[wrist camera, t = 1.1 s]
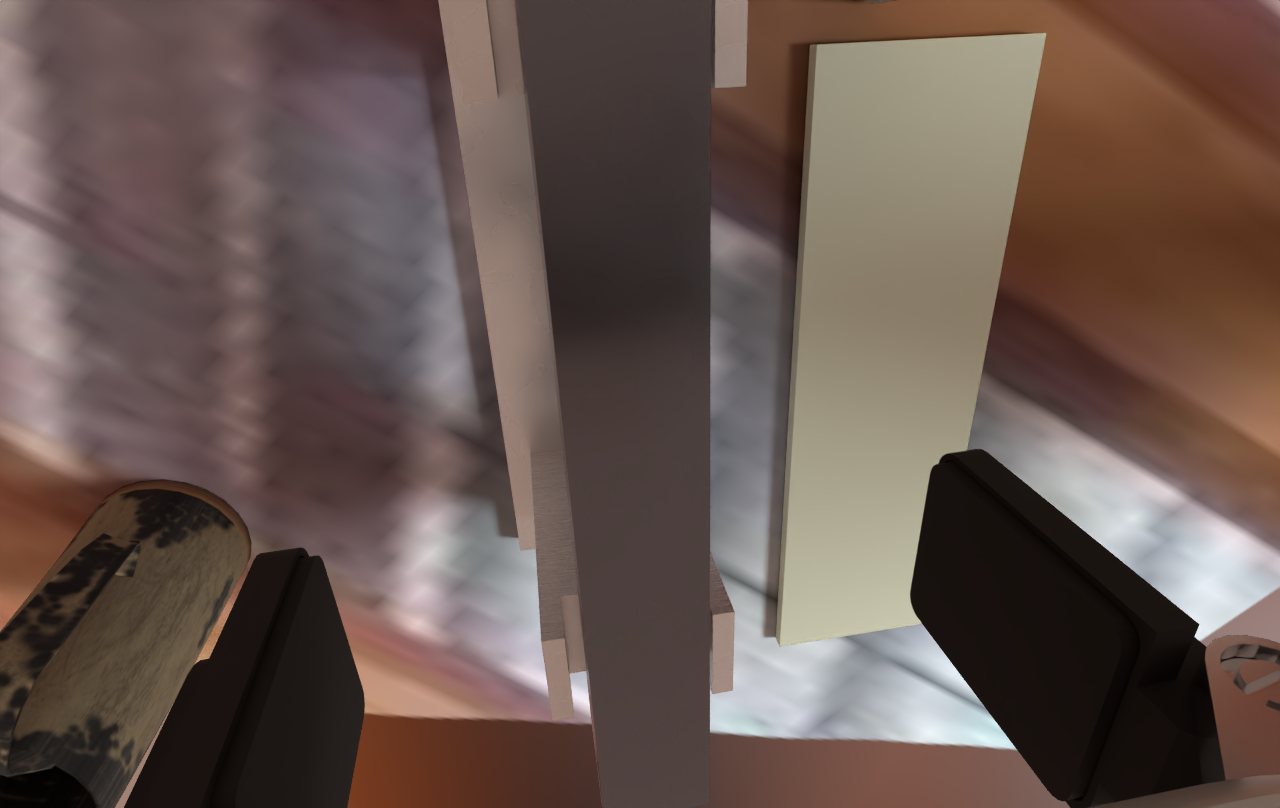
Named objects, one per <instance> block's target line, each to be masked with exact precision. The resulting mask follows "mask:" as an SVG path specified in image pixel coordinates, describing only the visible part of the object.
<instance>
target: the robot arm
mask: <svg viewBox="0 0 1280 808" xmlns="http://www.w3.org/2000/svg"><path fill="white" fill-rule="evenodd" d="M910 600H911V605H912V608H913V610H914V613H915V614H916V616H917V617H918V619H919V620H920V621H921V623H922V624H923V625H924V627H925V628H926V629H927V631H928V632H929V633H930V635H931V636H932V637H933V639H934V640H935V641H936V643H937V644H938V645H939V647H940V648H941V649H942V651H943V652H944V653H945V655H946V656H947V657H948V659H949V660H950V661H951V663H952V664H953V665H954V667H955V668H956V669H957V671H958V672H959V673H960V674H961V676H962V677H963V678H964V680H965V681H966V682H967V684H968V685H969V686H970V688H971V689H972V690H973V692H974V693H975V694H976V696H977V697H978V698H979V700H980V701H981V702H982V704H983V705H984V706H985V708H986V709H987V710H988V712H989V713H990V714H991V716H992V717H993V718H994V720H995V721H996V722H997V724H998V725H999V726H1000V728H1001V729H1002V730H1003V732H1004V733H1005V734H1006V736H1007V737H1008V738H1009V740H1010V741H1011V742H1012V743H1013V745H1014V746H1015V747H1016V749H1017V750H1018V751H1019V753H1020V754H1021V755H1022V757H1023V758H1024V759H1025V761H1026V762H1027V763H1028V765H1029V766H1030V767H1031V769H1032V770H1033V771H1034V773H1035V774H1036V775H1037V777H1038V778H1039V779H1040V780H1041V782H1042V783H1043V785H1044V786H1045V787H1046V788H1047V790H1048V791H1049V792H1050V793H1051V794H1052V796H1054V797H1055V798H1056V799H1058V800H1060V801H1066V802H1067V804H1068V805H1069V806H1070V808H1280V643H1278V642H1275V641H1271V640H1269V639H1264V638H1259V637H1254V636H1248V635H1227V636H1223V637H1220V638H1217V639H1214V640H1213V641H1212V642H1211V643H1210V644H1209V645H1208V646H1207V647H1206V646H1205V645H1203V644H1202V643H1201V642H1200V641H1199V640H1197V639H1196V638H1195V637H1194V636H1195V634H1196V631H1197V629H1198V626H1199V624H1198V623H1197V622H1196V621H1194V620H1193V619H1192V618H1191V617H1189V616H1188V615H1187V614H1186V613H1184V612H1183V611H1182V610H1181V609H1180V608H1178V607H1177V606H1176V605H1175V604H1173V603H1172V602H1171V601H1170V600H1168V599H1167V598H1166V597H1165V596H1164V595H1162V594H1161V593H1160V592H1159V591H1157V590H1156V589H1155V588H1154V587H1152V586H1151V585H1150V584H1149V583H1148V582H1146V581H1145V580H1144V579H1143V578H1141V577H1140V576H1139V575H1138V574H1136V573H1135V572H1134V571H1133V570H1132V569H1130V568H1129V567H1128V566H1127V565H1125V564H1124V563H1123V562H1122V561H1120V560H1119V559H1118V558H1117V557H1115V556H1114V555H1113V554H1112V553H1111V552H1109V551H1108V550H1107V549H1106V548H1104V547H1103V546H1102V545H1101V544H1099V543H1098V542H1097V541H1096V540H1095V539H1093V538H1092V537H1091V536H1090V535H1088V534H1087V533H1086V532H1085V531H1083V530H1082V529H1081V528H1080V527H1079V526H1077V525H1076V524H1075V523H1074V522H1072V521H1071V520H1070V519H1069V518H1067V517H1066V516H1065V515H1064V514H1063V513H1061V512H1060V511H1059V510H1058V509H1056V508H1055V507H1054V506H1053V505H1051V504H1050V503H1049V502H1048V501H1047V500H1045V499H1044V498H1043V497H1042V496H1040V495H1039V494H1038V493H1037V492H1035V491H1034V490H1033V489H1032V488H1031V487H1029V486H1028V485H1027V484H1026V483H1024V482H1023V481H1022V480H1021V479H1019V478H1018V477H1017V476H1016V475H1014V474H1013V473H1012V472H1011V471H1010V470H1008V469H1007V468H1006V467H1005V466H1003V465H1002V464H1001V463H1000V462H998V461H997V460H996V459H995V458H994V457H992V456H991V455H990V454H989V453H987V452H986V451H984V450H982V449H974V450H967V451H961V452H954V453H947V454H945V455H943V456H942V457H941V459H940V460H939V464H936V465H934V466H933V467H932V469H931V472H930V477H929V483H928V488H927V494H926V500H925V506H924V512H923V518H922V524H921V530H920V536H919V542H918V548H917V554H916V560H915V566H914V572H913V578H912V583H911V589H910ZM364 708H365V703H364V692H363V688H362V685H361V681H360V678H359V675H358V672H357V669H356V665H355V662H354V659H353V656H352V652H351V649H350V646H349V643H348V640H347V636H346V633H345V630H344V627H343V624H342V620H341V617H340V614H339V611H338V607H337V604H336V601H335V598H334V595H333V591H332V588H331V585H330V582H329V578H328V575H327V572H326V569H325V566H324V563H323V560H322V558H321V557H320V556H311V557H309V555H308V553H307V552H306V550H305V549H304V548H294V549H287V550H281V551H274V552H267V553H261V554H259V555H257V556H256V558H255V559H254V561H253V564H252V566H251V568H250V570H249V572H248V575H247V577H246V579H245V581H244V583H243V586H242V588H241V590H240V592H239V594H238V597H237V599H236V601H235V603H234V605H233V608H232V610H231V612H230V614H229V616H228V619H227V621H226V623H225V625H224V627H223V630H222V632H221V634H220V636H219V638H218V641H217V643H216V645H215V647H214V650H213V652H212V654H211V656H210V658H209V659H205V660H200V661H199V662H197V663H196V664H195V665H193V667H192V668H191V670H190V672H189V673H188V675H187V676H186V679H185V681H184V683H183V685H182V687H181V689H180V691H179V693H178V695H177V697H176V699H175V702H174V704H173V706H172V708H171V710H170V712H169V714H168V716H167V719H166V720H165V723H164V725H163V727H162V729H161V731H160V733H159V735H158V737H157V739H156V741H155V743H154V746H153V748H152V750H151V752H150V754H149V756H148V758H147V760H146V762H145V765H144V767H143V769H142V771H141V773H140V775H139V777H138V779H137V781H136V783H135V785H134V787H133V790H132V792H131V794H130V796H129V798H128V800H127V802H126V804H125V806H124V808H347V805H348V800H349V794H350V789H351V783H352V778H353V773H354V767H355V761H356V756H357V750H358V745H359V740H360V735H361V729H362V724H363V718H364Z"/></svg>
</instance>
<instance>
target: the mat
mask: <svg viewBox="0 0 1280 808" xmlns="http://www.w3.org/2000/svg"><path fill="white" fill-rule="evenodd" d="M1045 38H1046V33H1031V34H1011V35H991V36H972V37H952V38H932V39H913V40H893V41H873V42H854V43H834V44H814V45H810V53H809V70H808V87H807V105H806V122H805V139H804V157H803V174H802V191H801V209H800V226H799V243H798V260H797V278H796V295H795V312H794V330H793V347H792V364H791V382H790V399H789V416H788V434H787V451H786V468H785V485H784V503H783V520H782V537H781V555H780V572H779V589H778V607H777V624H776V639H777V642H778V644H779V646H780V647H781V646H788V645H794V644H800V643H806V642H812V641H818V640H824V639H830V638H836V637H843V636H849V635H855V634H861V633H867V632H873V631H879V630H885V629H891V628H898V627H904V626H910V625H916V624H922V623H921V621H920V620H919V619H918V617H917V616H916V614H915V613H914V610H913V608H912V605H911V600H910V589H911V583H912V578H913V572H914V566H915V560H916V554H917V548H918V542H919V536H920V530H921V524H922V518H923V512H924V506H925V500H926V494H927V488H928V483H929V477H930V472H931V469H932V467H933V466H934V465H936V464H939V460H940V459H941V457H942V456H943V455H945V454H947V453H954V452H961V451H967V447H968V442H969V437H970V431H971V426H972V421H973V416H974V410H975V405H976V400H977V395H978V389H979V384H980V379H981V374H982V368H983V363H984V358H985V353H986V347H987V342H988V337H989V332H990V327H991V321H992V316H993V311H994V306H995V300H996V295H997V290H998V285H999V279H1000V274H1001V269H1002V264H1003V258H1004V253H1005V248H1006V243H1007V237H1008V232H1009V227H1010V222H1011V216H1012V211H1013V206H1014V201H1015V196H1016V190H1017V185H1018V180H1019V175H1020V169H1021V164H1022V159H1023V154H1024V148H1025V143H1026V138H1027V133H1028V127H1029V122H1030V117H1031V112H1032V106H1033V101H1034V96H1035V91H1036V85H1037V80H1038V75H1039V70H1040V64H1041V59H1042V54H1043V49H1044V44H1045Z"/></svg>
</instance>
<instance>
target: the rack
mask: <svg viewBox="0 0 1280 808" xmlns="http://www.w3.org/2000/svg"><path fill="white" fill-rule="evenodd" d="M438 2H439V9H440V15H441V22H442V29H443V35H444V42H445V49H446V55H447V62H448V69H449V75H450V82H451V89H452V96H453V102H454V109H455V116H456V122H457V129H458V136H459V142H460V149H461V156H462V162H463V169H464V176H465V182H466V189H467V196H468V203H469V209H470V216H471V223H472V229H473V236H474V243H475V249H476V256H477V263H478V269H479V276H480V283H481V290H482V296H483V303H484V310H485V316H486V323H487V330H488V336H489V343H490V350H491V356H492V363H493V370H494V376H495V383H496V390H497V397H498V403H499V410H500V417H501V423H502V430H503V437H504V443H505V450H506V457H507V463H508V470H509V477H510V483H511V490H512V497H513V504H514V510H515V517H516V524H517V530H518V537H519V544H520V550H528V549H535V548H536V559H537V576H538V592H539V609H540V626H541V642H542V649H543V656H544V663H545V670H546V677H547V684H548V691H549V698H550V705H551V712H552V719H553V721H556V720H562V719H568V718H574V711H573V701H572V691H571V681H570V673H575V672H581V671H586V664H585V655H584V645H583V636H582V627H581V617H580V608H579V599H578V589H577V580H576V571H575V561H574V552H573V543H572V534H571V524H570V515H569V506H568V496H567V487H566V478H565V468H564V459H563V450H562V441H561V431H560V422H559V413H558V403H557V394H556V385H555V375H554V366H553V357H552V347H551V338H550V329H549V320H548V310H547V301H546V292H545V282H544V273H543V264H542V254H541V245H540V236H539V226H538V217H537V208H536V199H535V189H534V180H533V171H532V161H531V152H530V143H529V133H528V124H527V115H526V105H525V96H524V87H523V78H522V68H521V59H520V50H519V40H518V31H517V22H516V12H515V3H514V0H438ZM747 19H748V0H711V87H712V88H726V87H743V86H746V64H747ZM733 656H734V609H733V607H732V604H731V602H730V600H729V597H728V595H727V592H726V590H725V587H724V585H723V582H722V580H721V577H720V575H719V572H718V570H717V567H716V565H715V563H714V560H713V558H712V555H711V553H710V687H711V691H712V694H715V693H721V692H727V691H732V690H733Z"/></svg>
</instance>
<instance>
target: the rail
mask: <svg viewBox="0 0 1280 808" xmlns="http://www.w3.org/2000/svg"><path fill="white" fill-rule="evenodd" d="M514 3H515V12H516V22H517V31H518V40H519V50H520V59H521V68H522V78H523V87H524V96H525V105H526V115H527V124H528V133H529V143H530V152H531V161H532V171H533V180H534V189H535V199H536V208H537V217H538V226H539V236H540V245H541V254H542V264H543V273H544V282H545V292H546V301H547V310H548V320H549V329H550V338H551V347H552V357H553V366H554V375H555V385H556V394H557V403H558V413H559V422H560V431H561V441H562V450H563V459H564V468H565V478H566V487H567V496H568V506H569V515H570V524H571V534H572V543H573V552H574V561H575V571H576V580H577V589H578V599H579V608H580V617H581V627H582V636H583V645H584V655H585V664H586V673H587V682H588V692H589V701H590V710H591V720H592V729H593V736H594V745H595V752H596V760H597V768H598V775H599V784H600V792H601V800H602V807H603V808H692V807H698V806H703V805H708V804H710V161H711V0H514Z"/></svg>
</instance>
